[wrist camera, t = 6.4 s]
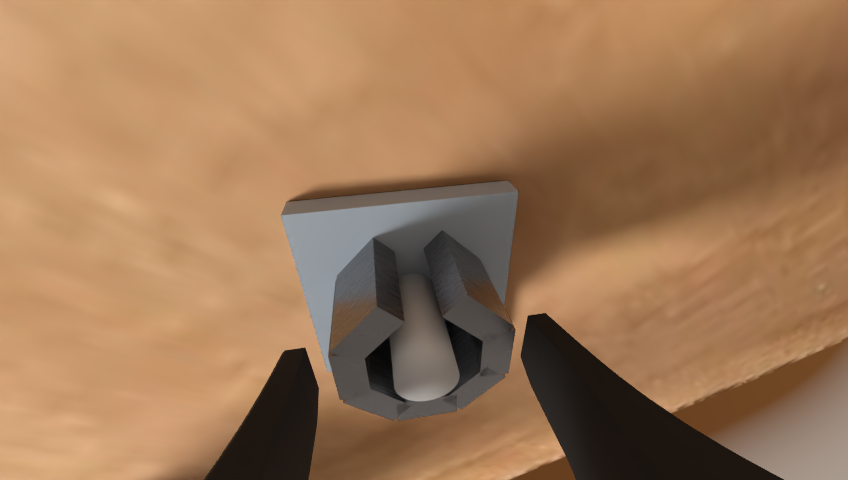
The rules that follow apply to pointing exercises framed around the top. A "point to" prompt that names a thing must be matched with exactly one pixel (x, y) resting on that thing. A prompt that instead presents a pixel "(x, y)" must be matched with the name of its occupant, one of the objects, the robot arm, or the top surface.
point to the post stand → (403, 263)
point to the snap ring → (383, 314)
